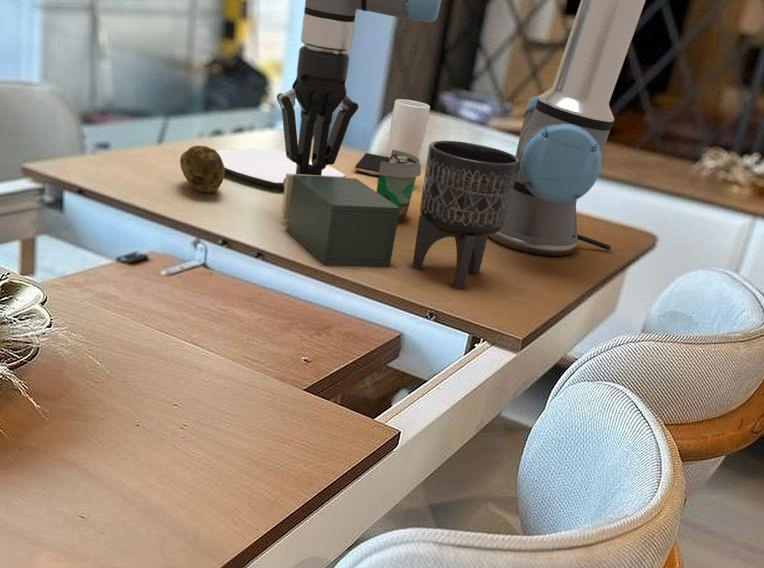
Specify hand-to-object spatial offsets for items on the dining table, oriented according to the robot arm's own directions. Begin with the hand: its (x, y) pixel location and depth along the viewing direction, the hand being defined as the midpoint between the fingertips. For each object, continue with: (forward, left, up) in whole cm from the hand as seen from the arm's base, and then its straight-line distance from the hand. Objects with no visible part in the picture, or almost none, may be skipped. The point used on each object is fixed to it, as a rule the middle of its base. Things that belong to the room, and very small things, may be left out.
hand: (304, 207), depth 162 cm
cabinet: (0, +14, -2) cm, 14 cm away
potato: (+13, -14, -2) cm, 19 cm away
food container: (-18, -3, -2) cm, 18 cm away
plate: (-5, -28, -2) cm, 28 cm away
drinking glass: (-30, -26, -2) cm, 40 cm away
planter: (-14, +26, -2) cm, 29 cm away
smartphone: (-31, -38, -2) cm, 49 cm away
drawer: (0, +7, -1) cm, 7 cm away
